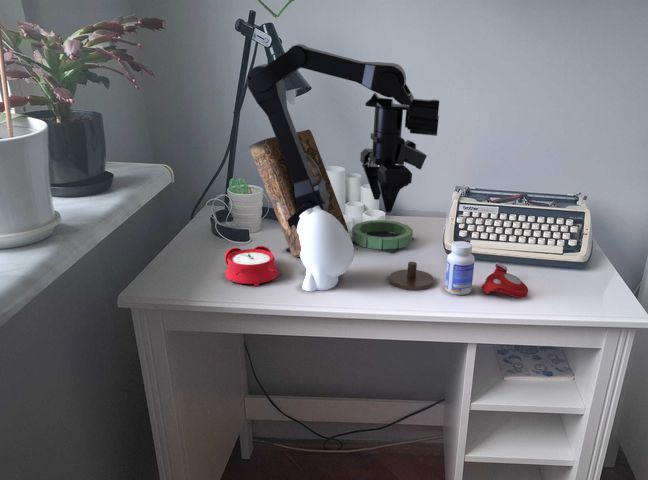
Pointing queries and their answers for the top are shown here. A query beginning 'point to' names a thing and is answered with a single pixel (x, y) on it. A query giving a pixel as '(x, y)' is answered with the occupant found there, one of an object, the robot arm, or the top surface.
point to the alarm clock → (250, 265)
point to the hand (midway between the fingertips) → (382, 205)
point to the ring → (382, 242)
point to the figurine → (323, 249)
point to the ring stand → (411, 278)
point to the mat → (382, 234)
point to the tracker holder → (504, 283)
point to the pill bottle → (460, 269)
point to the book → (291, 182)
